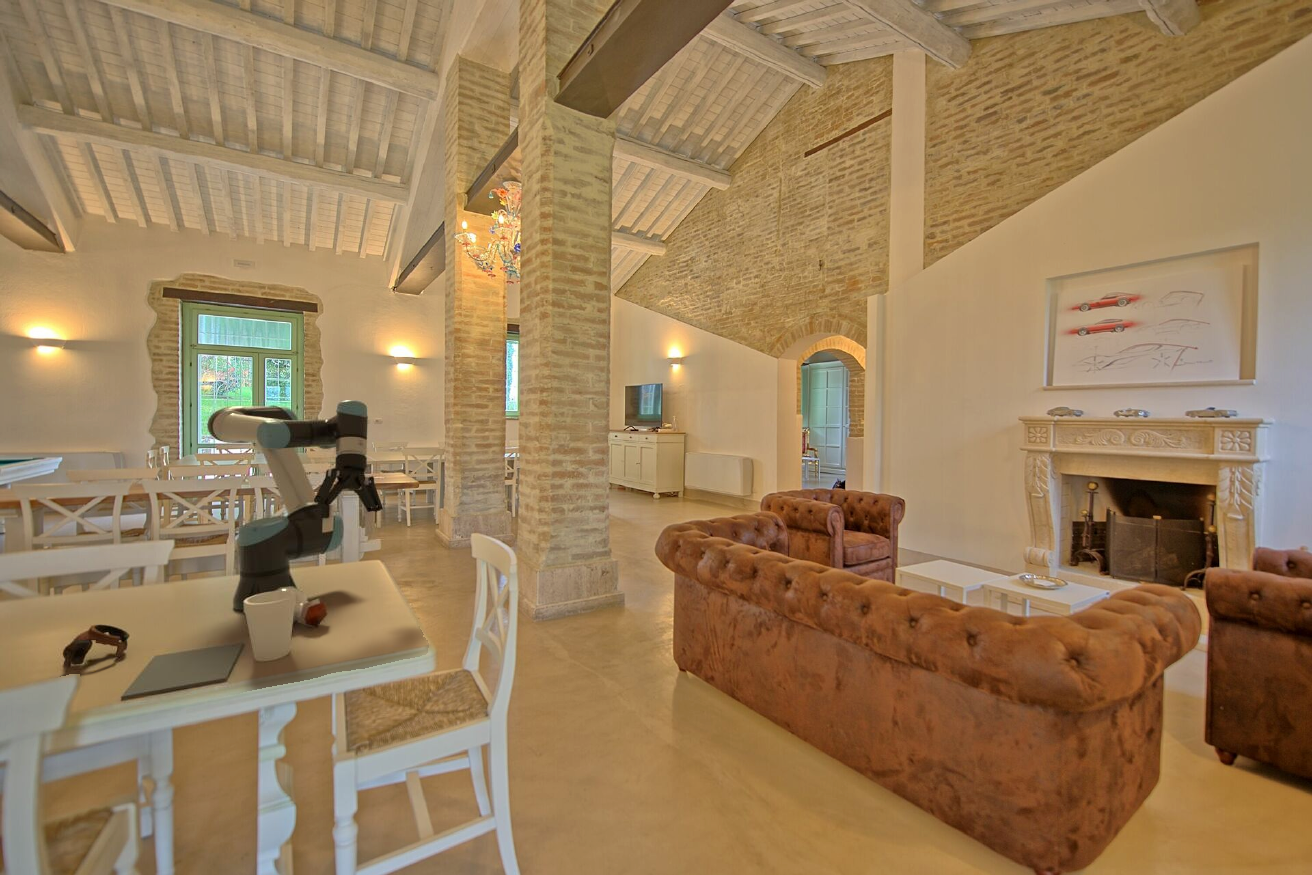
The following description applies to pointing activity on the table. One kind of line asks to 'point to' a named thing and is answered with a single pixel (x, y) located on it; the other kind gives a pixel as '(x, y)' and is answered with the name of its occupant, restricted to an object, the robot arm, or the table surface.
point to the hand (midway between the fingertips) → (349, 533)
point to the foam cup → (270, 623)
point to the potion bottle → (306, 608)
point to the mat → (185, 670)
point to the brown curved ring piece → (96, 632)
